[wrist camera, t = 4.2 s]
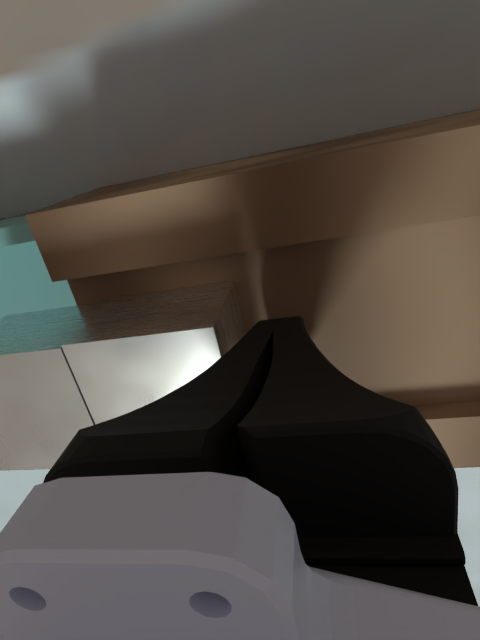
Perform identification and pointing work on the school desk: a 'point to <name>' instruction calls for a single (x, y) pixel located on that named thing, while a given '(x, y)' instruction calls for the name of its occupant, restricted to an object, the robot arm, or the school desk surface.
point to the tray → (26, 273)
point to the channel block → (314, 255)
